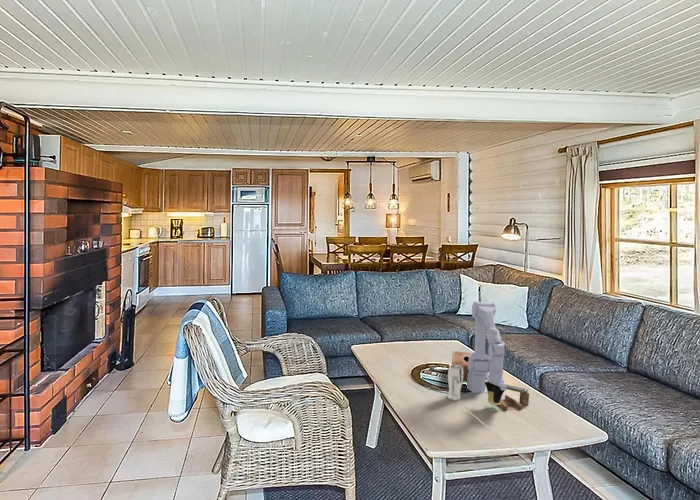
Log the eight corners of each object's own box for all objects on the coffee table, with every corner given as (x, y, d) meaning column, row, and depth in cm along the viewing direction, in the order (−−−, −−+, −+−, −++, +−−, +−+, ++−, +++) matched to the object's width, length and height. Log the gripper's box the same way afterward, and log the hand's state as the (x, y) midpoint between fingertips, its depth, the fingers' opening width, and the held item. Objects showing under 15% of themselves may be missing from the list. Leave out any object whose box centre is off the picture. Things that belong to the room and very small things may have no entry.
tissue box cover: (481, 387, 240) (482, 367, 240) (451, 384, 243) (452, 364, 243) (478, 371, 266) (479, 353, 265) (451, 368, 268) (452, 351, 268)
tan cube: (487, 401, 213) (488, 390, 213) (496, 401, 214) (496, 390, 214) (492, 405, 210) (493, 393, 209) (500, 404, 210) (501, 393, 210)
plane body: (490, 401, 222) (490, 388, 221) (519, 399, 225) (519, 387, 225) (504, 411, 210) (505, 398, 210) (534, 409, 213) (535, 397, 213)
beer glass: (451, 401, 219) (452, 369, 218) (444, 396, 225) (445, 364, 224) (464, 400, 220) (466, 368, 219) (457, 395, 227) (459, 364, 226)
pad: (483, 406, 214) (483, 405, 214) (496, 406, 216) (496, 404, 216) (490, 412, 208) (490, 411, 208) (503, 411, 210) (503, 410, 210)
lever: (498, 385, 227) (498, 382, 227) (528, 392, 219) (528, 389, 219) (496, 386, 224) (496, 384, 224) (526, 393, 217) (526, 391, 216)
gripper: (513, 375, 205) (511, 406, 206) (495, 365, 219) (493, 394, 220) (498, 376, 203) (496, 407, 204) (481, 365, 217) (479, 394, 218)
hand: (493, 400), depth 212 cm, fingers closed on tan cube, 4 cm apart
